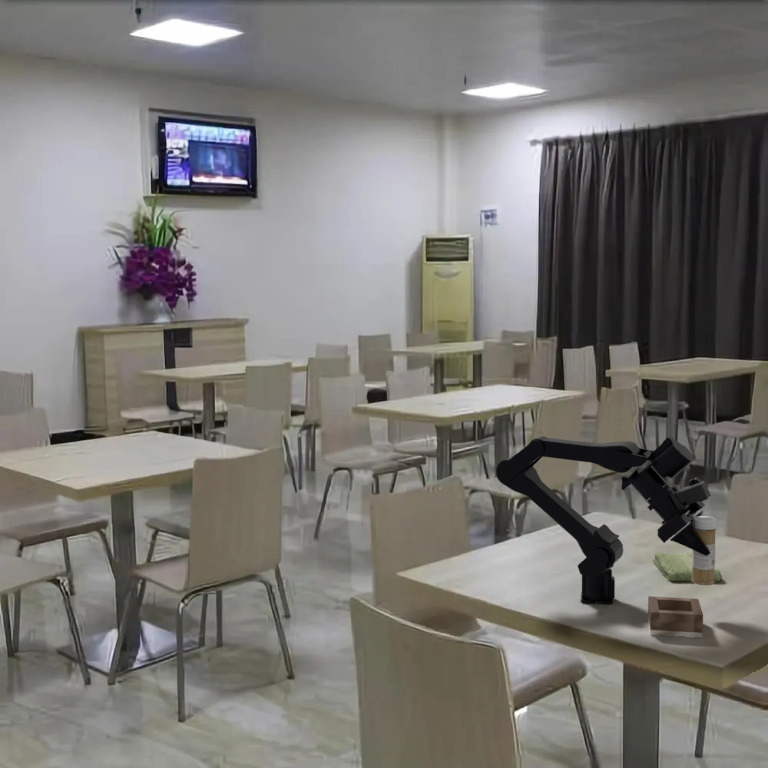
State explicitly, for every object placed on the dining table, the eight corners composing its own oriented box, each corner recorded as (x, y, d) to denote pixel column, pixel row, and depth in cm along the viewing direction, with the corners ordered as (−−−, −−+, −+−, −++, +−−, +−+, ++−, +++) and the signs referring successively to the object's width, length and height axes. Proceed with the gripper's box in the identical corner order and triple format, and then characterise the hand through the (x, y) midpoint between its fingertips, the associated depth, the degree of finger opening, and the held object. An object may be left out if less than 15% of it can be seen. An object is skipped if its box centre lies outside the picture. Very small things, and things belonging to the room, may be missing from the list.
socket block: (650, 634, 189) (650, 612, 189) (648, 617, 199) (648, 596, 198) (702, 637, 187) (703, 615, 187) (697, 620, 196) (698, 598, 196)
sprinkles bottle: (699, 578, 202) (700, 514, 201) (719, 583, 199) (721, 518, 198) (686, 582, 199) (688, 517, 198) (706, 587, 196) (708, 521, 195)
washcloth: (705, 562, 238) (706, 549, 237) (724, 585, 220) (724, 571, 220) (650, 561, 239) (650, 548, 238) (664, 584, 221) (664, 570, 221)
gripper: (675, 476, 190) (733, 538, 186) (695, 459, 207) (749, 516, 203) (634, 511, 195) (689, 573, 191) (656, 492, 211) (708, 549, 207)
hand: (710, 551), depth 198 cm, fingers closed on sprinkles bottle, 4 cm apart
